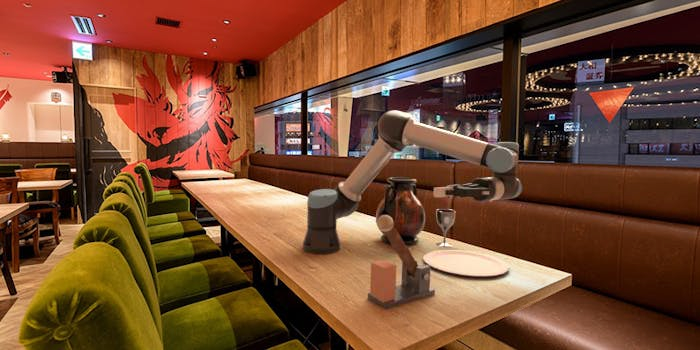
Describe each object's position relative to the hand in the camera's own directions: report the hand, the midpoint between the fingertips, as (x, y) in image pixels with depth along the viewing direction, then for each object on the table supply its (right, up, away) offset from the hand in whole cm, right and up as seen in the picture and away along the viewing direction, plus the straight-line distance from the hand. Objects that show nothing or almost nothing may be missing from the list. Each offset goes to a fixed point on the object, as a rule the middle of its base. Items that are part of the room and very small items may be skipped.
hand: (435, 192), depth 104 cm
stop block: (-16, -28, -8) cm, 33 cm away
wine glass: (+16, -25, +51) cm, 59 cm away
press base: (-10, -29, -4) cm, 31 cm away
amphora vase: (-3, -25, +55) cm, 60 cm away
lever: (-6, -23, -2) cm, 24 cm away
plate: (+16, -28, +25) cm, 41 cm away
